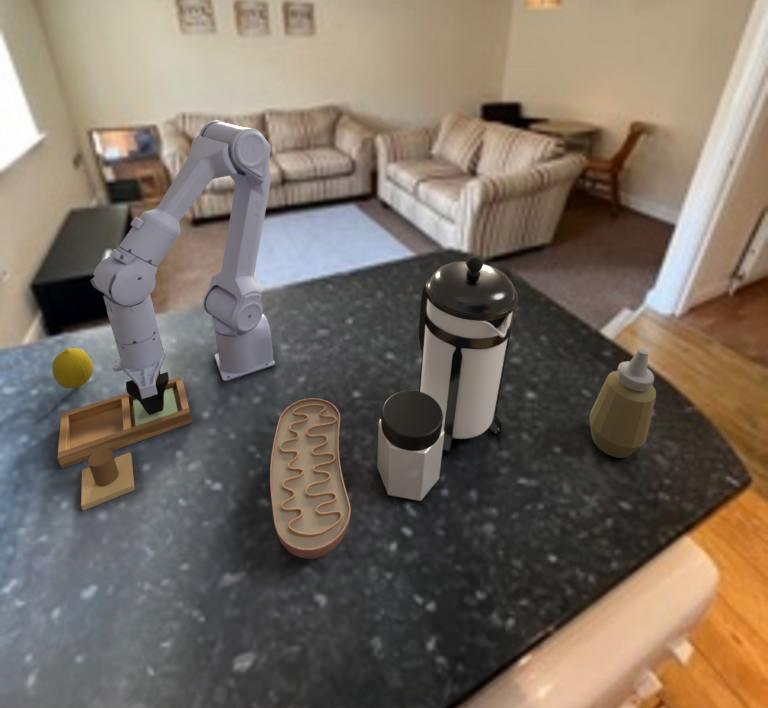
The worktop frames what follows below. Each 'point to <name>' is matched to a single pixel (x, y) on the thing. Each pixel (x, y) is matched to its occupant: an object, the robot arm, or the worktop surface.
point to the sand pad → (111, 490)
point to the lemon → (72, 368)
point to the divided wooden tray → (113, 425)
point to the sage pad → (168, 409)
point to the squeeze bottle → (624, 408)
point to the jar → (410, 444)
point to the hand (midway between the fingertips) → (154, 401)
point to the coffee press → (465, 344)
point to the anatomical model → (308, 479)
